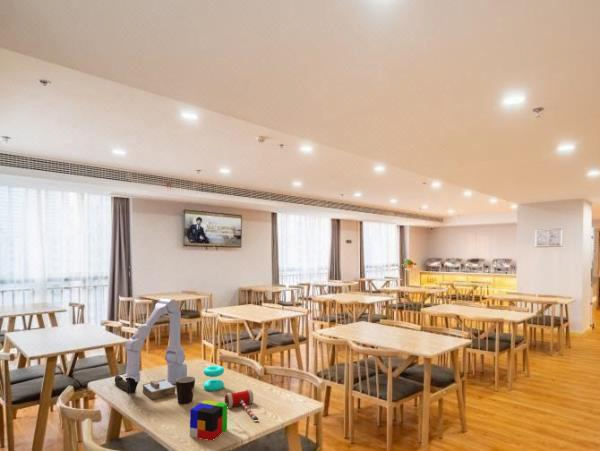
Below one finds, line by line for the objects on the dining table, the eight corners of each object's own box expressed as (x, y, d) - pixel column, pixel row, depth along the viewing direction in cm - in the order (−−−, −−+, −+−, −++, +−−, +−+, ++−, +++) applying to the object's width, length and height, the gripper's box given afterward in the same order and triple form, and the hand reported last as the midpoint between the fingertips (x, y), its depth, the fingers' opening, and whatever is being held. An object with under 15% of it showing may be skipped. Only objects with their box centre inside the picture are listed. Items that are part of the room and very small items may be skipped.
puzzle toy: (189, 436, 151) (190, 409, 152) (205, 425, 160) (205, 399, 161) (212, 441, 147) (213, 413, 148) (226, 429, 157) (227, 403, 157)
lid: (165, 381, 202) (165, 376, 202) (174, 387, 193) (175, 382, 194) (143, 386, 195) (143, 380, 195) (152, 393, 186) (152, 387, 186)
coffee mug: (184, 396, 190) (184, 375, 191) (198, 400, 186) (199, 378, 187) (166, 405, 180) (166, 382, 180) (181, 409, 176) (181, 385, 176)
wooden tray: (164, 387, 203) (164, 379, 203) (175, 394, 193) (175, 386, 193) (142, 392, 195) (142, 384, 196) (152, 400, 186) (152, 391, 186)
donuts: (222, 371, 198) (201, 371, 197) (222, 391, 197) (201, 391, 197) (225, 365, 208) (206, 365, 207) (225, 384, 207) (205, 384, 207)
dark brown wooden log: (135, 392, 196) (136, 382, 196) (127, 394, 193) (127, 384, 194) (120, 383, 210) (121, 373, 210) (112, 384, 207) (113, 375, 207)
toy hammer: (269, 419, 167) (269, 403, 167) (242, 425, 161) (243, 409, 161) (248, 400, 187) (248, 386, 187) (224, 405, 181) (224, 391, 181)
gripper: (119, 362, 195) (118, 390, 195) (129, 369, 184) (128, 399, 184) (134, 359, 200) (133, 387, 199) (144, 366, 189) (144, 396, 188)
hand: (132, 393), depth 192 cm, fingers closed
